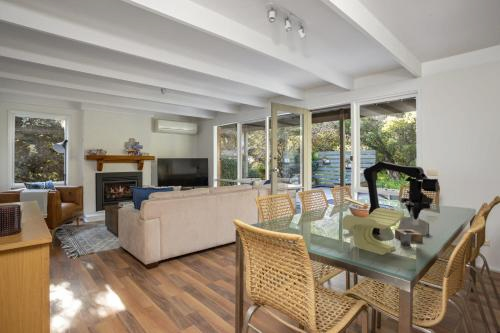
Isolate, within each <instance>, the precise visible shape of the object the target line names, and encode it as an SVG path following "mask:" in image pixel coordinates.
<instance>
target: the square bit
mask: <svg viewBox="0 0 500 333" xmlns="http://www.w3.org/2000/svg"><path fill="white" fill-rule="evenodd" d="M409 217H410V224H412V225H418V222H419V219H420V215H419V216H418V218H417V219H414V216H413V212H412V209H411V207H410V214H409Z"/></svg>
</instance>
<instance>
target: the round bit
mask: <svg viewBox="0 0 500 333" xmlns="http://www.w3.org/2000/svg"><path fill="white" fill-rule="evenodd" d="M399 243H400V246H402V247H411V243H412V242H411V234H410V233H405V232H402V233H401V239H400V242H399Z"/></svg>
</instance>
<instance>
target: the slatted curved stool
mask: <svg viewBox="0 0 500 333" xmlns="http://www.w3.org/2000/svg"><path fill="white" fill-rule="evenodd" d="M403 217H405V211H403V210H395V209H388V208H383V207H380V208H377V209H375V210H374V211H373V212H371V213H370V214H369V213H368V215H367V216H365V217H361V216H356V215H351V214H346V215H344V216H343V218H342V230H346V231H352V235H353V237H352V238H353V244H354V246H355V247H357V249H361V250H365V251H367V252H371V253H374V254H379V255H382V256H383V255H386V254H388V253H391V252H393V251H395V250H396V246H395V245H394V244H389V243H386V242H383V241H380V240H378V239H377V238H375V237H374V235H373V234H372V231H373V229H374V228H380V230H384V229H387V228H388V229H389V228H391V227H393V226H397V224H399V223H400V221H401V220H402V218H403Z"/></svg>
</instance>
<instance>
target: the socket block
mask: <svg viewBox="0 0 500 333" xmlns="http://www.w3.org/2000/svg"><path fill="white" fill-rule="evenodd" d="M402 232H405V233H410V234H411V243H412V242H415V243H416V242H417V243H418V242H419V243H421V242H423V241H424V240H423V239H424V236H423V234H421V233H419V232H417V231H415V230H409V229H397V228H395V229H394V237H395V238H397V239H399V240H401V233H402Z"/></svg>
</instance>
